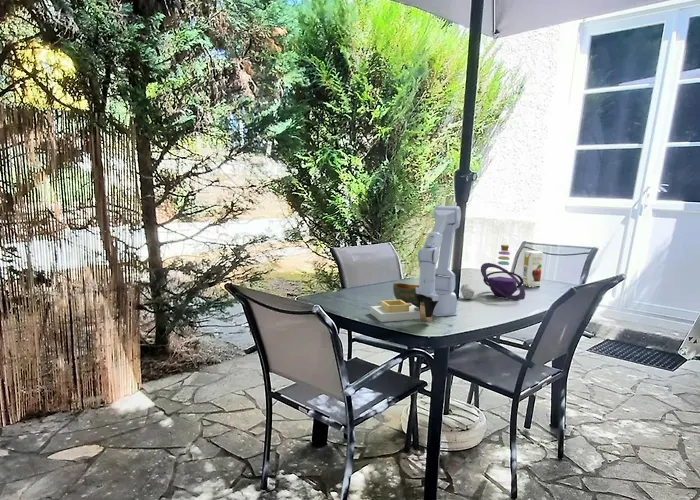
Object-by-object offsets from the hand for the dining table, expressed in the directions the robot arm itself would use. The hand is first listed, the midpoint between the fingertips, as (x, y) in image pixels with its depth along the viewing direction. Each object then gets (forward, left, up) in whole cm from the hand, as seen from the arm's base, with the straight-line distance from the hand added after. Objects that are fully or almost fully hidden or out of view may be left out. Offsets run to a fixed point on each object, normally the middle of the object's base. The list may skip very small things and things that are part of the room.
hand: (425, 315), depth 169 cm
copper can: (0, 0, -2) cm, 2 cm away
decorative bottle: (-57, -32, -4) cm, 65 cm away
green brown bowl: (-9, -28, -4) cm, 30 cm away
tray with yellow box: (+6, -13, -4) cm, 15 cm away
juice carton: (-88, -49, -4) cm, 101 cm away
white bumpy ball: (-38, -32, -4) cm, 50 cm away
